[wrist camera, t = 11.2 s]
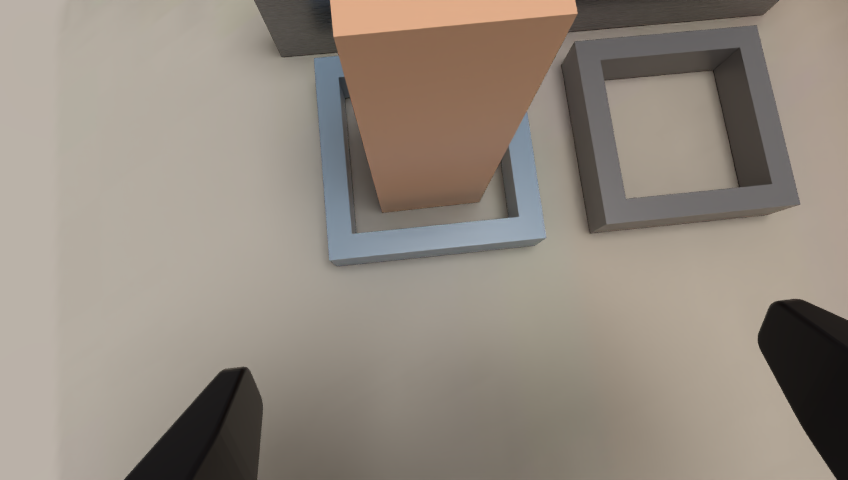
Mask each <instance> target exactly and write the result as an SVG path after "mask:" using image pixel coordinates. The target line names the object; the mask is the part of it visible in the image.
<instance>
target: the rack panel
mask: <svg viewBox="0 0 848 480" xmlns="http://www.w3.org/2000/svg"><path fill="white" fill-rule="evenodd" d="M254 1H255V3H256V5H257V7H258V9H259V11H260V13H261V15H262V17H263V19H264V22H265V24H266V26H267V28H268V30H269V32H270V34H271V36H272V38H273V40H274V42H275V44H276V46H277V48H278V50H279V52H280V54H281V56H282V57H287V56H298V55H310V54H321V53H333V52H338V51H337V48H336V44H335V40H334V37H333V26H332V15H331V5H330V0H254ZM778 1H779V0H575V2H576V7H577V12H578V14H577V16H576V18H575V20H574V22H573V24H572V26H571V27H570V29H569V31H568V32H572V31H583V30H594V29H606V28H617V27H629V26H640V25H651V24H663V23H674V22H685V21H697V20H708V19H720V18H731V17H742V16H754V15H764V14H765V13H766V12H767V11H768V10H769V9H770V8H771V7H772V6H774V5H775V4H776V3H777V2H778Z"/></svg>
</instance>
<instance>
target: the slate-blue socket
mask: <svg viewBox="0 0 848 480" xmlns="http://www.w3.org/2000/svg"><path fill="white" fill-rule="evenodd" d="M314 66H315V79H316V92H317V105H318V118H319V131H320V144H321V157H322V170H323V184H324V197H325V210H326V223H327V236H328V249H329V260H330V261H331V262H332V263H333V264H335V265H336V266H344V265H354V264H363V263H373V262H382V261H392V260H402V259H411V258H421V257H430V256H440V255H450V254H459V253H469V252H478V251H488V250H497V249H507V248H517V247H526V246H535V245H536V244H538V243H539V242H541V241H542V240H544V239H545V238H546V233H545V226H544V220H543V213H542V206H541V200H540V193H539V187H538V180H537V174H536V167H535V161H534V154H533V147H532V141H531V134H530V128H529V121H528V115H527V112H526V114H525V116H524V117H523V119H522V121H521V123H520V125H519V127H518V129H517V131H516V133H515V135H514V137H513V139H512V140H511V142H510V144H509V146H508V148H507V150H506V152H505V154H504V156H503V158H502V160H501V166H502V173H503V180H504V187H505V194H506V201H507V208H508V215H509V218H503V219H493V220H483V221H473V222H464V223H454V224H444V225H434V226H424V227H415V228H405V229H395V230H385V231H375V232H366V233H356V222H355V211H354V199H353V187H352V176H351V164H350V153H349V141H348V130H347V118H346V107H345V98H350V95H349V91H348V87H347V84H346V80H345V77H344V73H343V69H342V66H341V62H340V58H339V56H333V57H322V58H314Z"/></svg>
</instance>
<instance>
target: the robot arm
mask: <svg viewBox="0 0 848 480" xmlns="http://www.w3.org/2000/svg"><path fill="white" fill-rule="evenodd" d="M758 345H759V348H760V350H761V352H762V354H763V356H764V358H765V359H766V361H767V363H768V365H769V367H770V369H771V371H772V372H773V374H774V376H775V378H776V380H777V382H778V384H779V386H780V387H781V389H782V391H783V393H784V395H785V397H786V399H787V400H788V402H789V404H790V406H791V408H792V410H793V412H794V413H795V415H796V417H797V419H798V421H799V422H800V424H801V426H802V427H803V429H804V431H805V432H806V434H807V436H808V437H809V439H810V440H811V442H812V443H813V445H814V446H815V448H816V449H817V451H818V452H819V454H820V455H821V457H822V458H823V460H824V461H825V463H826V464H827V466H828V467H829V469H830V470H831V472H832V473H833V475H834V476H835V478H836V479H837V480H848V320H846V319H844V318H842V317H839V316H837V315H835V314H833V313H831V312H828V311H826V310H824V309H822V308H820V307H817V306H815V305H813V304H811V303H808V302H806V301H804V300H801V299H790V300H781V301H776V302H773V303H772V304H771V305H770V307H769V309H768V311H767V313H766V316H765V318H764V321H763V323H762V326H761V328H760V331H759V333H758ZM262 415H263V403H262V398H261V395H260V393H259V390H258V388H257V386H256V383H255V381H254V379H253V376H252V374H251V372H250V370H249V369H248V368H247V367H237V368H229V369H224V370H222V371H221V372H219V373H218V374H217V376H216V377H215V378H214V379H213V380H212V381H211V382H210V383H209V385H208V386H207V387H206V388H205V389H204V390H203V391H202V392H201V394H200V395H199V396H198V397H197V398H196V399H195V400H194V401H193V403H192V404H191V405H190V406H189V407H188V408H187V409H186V410H185V412H184V413H183V414H182V415H181V416H180V417H179V418H178V419H177V421H176V422H175V423H174V424H173V425H172V426H171V427H170V428H169V430H168V431H167V432H166V433H165V434H164V435H163V436H162V437H161V438H160V440H159V441H158V442H157V443H156V444H155V445H154V446H153V447H152V449H151V450H150V451H149V452H148V453H147V454H146V455H145V456H144V458H143V459H142V460H141V461H140V462H139V463H138V464H137V465H136V467H135V468H134V469H133V470H132V471H131V472H130V473H129V474H128V476H127V477H126V478H125V479H124V480H257V474H258V462H259V450H260V439H261V427H262Z"/></svg>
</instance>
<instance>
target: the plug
mask: <svg viewBox="0 0 848 480" xmlns="http://www.w3.org/2000/svg"><path fill="white" fill-rule="evenodd" d="M330 5H331V15H332V26H333V37H334V40H335V44H336V48H337V51H338V55H339V58H340V62H341V66H342V69H343V73H344V77H345V80H346V84H347V87H348V91H349V95H350V98H351V102H352V105H353V109H354V113H355V116H356V120H357V123H358V127H359V131H360V134H361V138H362V142H363V145H364V149H365V152H366V156H367V160H368V163H369V167H370V170H371V174H372V178H373V181H374V185H375V189H376V192H377V196H378V199H379V203H380V207H381V210H382V213H384V212H393V211H403V210H412V209H421V208H430V207H439V206H448V205H457V204H466V203H475V202H480V200H481V198H482V196H483V194H484V192H485V190H486V188H487V186H488V184H489V183H490V181H491V179H492V177H493V175H494V173H495V171H496V169H497V167H498V165H499V163H500V162H501V160H502V158H503V156H504V154H505V152H506V150H507V148H508V146H509V144H510V142H511V140H512V139H513V137H514V135H515V133H516V131H517V129H518V127H519V125H520V123H521V121H522V119H523V117H524V116H525V114H526V112H527V110H528V108H529V106H530V104H531V102H532V100H533V98H534V96H535V94H536V93H537V91H538V89H539V87H540V85H541V83H542V81H543V79H544V77H545V75H546V73H547V72H548V70H549V68H550V66H551V64H552V62H553V60H554V58H555V56H556V54H557V52H558V50H559V49H560V47H561V45H562V43H563V41H564V39H565V37H566V35H567V33H568V31H569V29H570V27H571V26H572V24H573V22H574V20H575V18H576V16H577V14H578V12H577V7H576V2H575V0H330Z"/></svg>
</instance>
